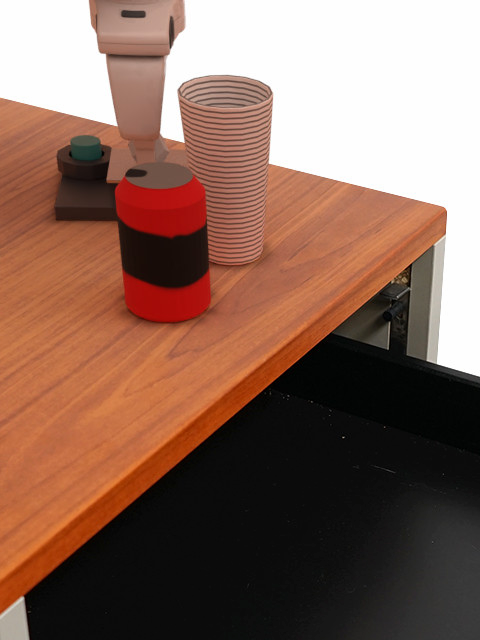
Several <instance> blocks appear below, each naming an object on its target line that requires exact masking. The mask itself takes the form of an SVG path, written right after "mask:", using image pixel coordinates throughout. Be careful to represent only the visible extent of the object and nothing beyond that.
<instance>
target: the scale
mask: <svg viewBox="0 0 480 640" xmlns="http://www.w3.org/2000/svg"><path fill="white" fill-rule="evenodd" d="M112 148H113V147H112V146H110V145H107V144H102V143H101V152H102V157H101V158H99V159H96V160H91V161H85V160H77V159H73V158H72V154H71V145H70V144H67V145H65V146H63V147H61V148H60V149H57V152H56V156H55V157H56V165H57V171H58V172H59V173H60V174H61V177H60V182H59V187H58V190H57V195H56V199H55V203H54V214H55V220H56V221H103V222H104V221H108V222H110V221H112V222H118V220H117V209H116V198H115V189H116V187H117V185H118V184H119V183H107V181H106V179H107V173H108V167H109V161H110V155H111V149H112Z"/></svg>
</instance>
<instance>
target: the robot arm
mask: <svg viewBox="0 0 480 640" xmlns="http://www.w3.org/2000/svg"><path fill="white" fill-rule="evenodd" d="M185 1H186V0H88V7H89V18H90V25H91V27H92V29H93V30H94V33H95V35H96V42H97V49H98V53H99V54H101V55H105V62H106V69H107V76H108V83H109V88H110V89H109V90H110V94H111V99H112V105H113V111H114V115H115V121H116V126H117V129H118V131H119V135H120V137H121V138H122V139H123V140H125V141H130V140H133V142H134V146H135V149H136V159H137V164H138V165H140V164H144V163H151V162H156V153H155V140H157V139H158V138H159V136H160V134H161V128H162V127H161V126H162V115H163V114H162V113H163V104H164V93H165V85H166V73H167V59H168V56H169V55H170V54H171V50H172V49H173V47H174V44H175V41H176V39H177V38H178V36H179V34H181V33H182V32H183V31H184V30H185V29H186V28H187V21H186V17H187V16H186V3H185Z"/></svg>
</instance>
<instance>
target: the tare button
mask: <svg viewBox="0 0 480 640" xmlns="http://www.w3.org/2000/svg"><path fill="white" fill-rule="evenodd" d="M101 144H102V143H101V139H100V138H99V137H98V136H95V135H92V134H91V135H90V134H82V135H76V136H73V137H71V138H70V140H69V145H71V154H72V158H73V159H77V160H85V161H91V160H96V159H99V158H101V157H102V152H101Z"/></svg>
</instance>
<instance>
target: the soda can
mask: <svg viewBox="0 0 480 640" xmlns="http://www.w3.org/2000/svg"><path fill="white" fill-rule="evenodd" d="M115 198H116V209H117V220H118V221H117V230H118V239H119V240H118V241H119V250H120V261H121V270H122V271H121V272H122V273H121V274H122V283H123V293H124V302H125V305H126V307H127V309H129V310H130V312H131V313H133V314H134V315H135V316H136V317H139V318H142V319H144V320H146V321H149V322H150V321H151V322H157V323H178V322H185V321H188V320H192V319H195V318H197V317H198V316H200V315H202V314H203V313H204V312H205V311H206V310H207V309H208V307H209V306H210V304H211V303H212V292H211V272H210V271H211V269H210V261H209V249H208V229H207V210H206V191H205V188H204V186H203V185H202V184H201V183H200V182H199V180H198V179H197V178H196V177H195V176H194V175H193V173H192V171H191V170H190V169H188V168H187V167H184V166H182V165H179V164H174V163H168V162H151V163H144V164H140V165H136V166H134V167H132V168H130V169H129V170H127V172H126V174H125V176H124V177H123V179H122V180H121V181H120V183H119V184H118V185H117V187H116V189H115Z"/></svg>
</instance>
